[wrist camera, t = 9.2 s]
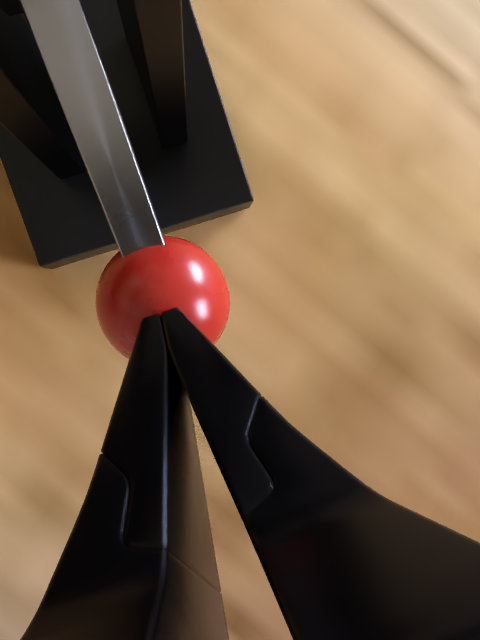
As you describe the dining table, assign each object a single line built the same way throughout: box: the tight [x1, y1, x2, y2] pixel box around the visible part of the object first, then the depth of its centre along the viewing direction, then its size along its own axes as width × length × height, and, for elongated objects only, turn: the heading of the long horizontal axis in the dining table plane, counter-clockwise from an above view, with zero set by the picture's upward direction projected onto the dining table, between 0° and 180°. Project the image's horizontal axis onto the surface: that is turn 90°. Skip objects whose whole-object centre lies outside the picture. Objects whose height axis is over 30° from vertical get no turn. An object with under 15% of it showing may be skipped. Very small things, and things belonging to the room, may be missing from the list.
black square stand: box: [0, 0, 253, 269], centre depth 11 cm, size 10×8×11 cm
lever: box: [0, 0, 230, 359], centre depth 9 cm, size 12×4×4 cm, turn 19°
